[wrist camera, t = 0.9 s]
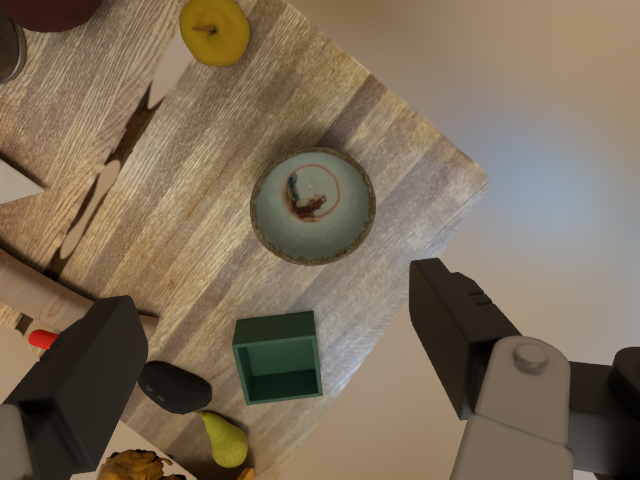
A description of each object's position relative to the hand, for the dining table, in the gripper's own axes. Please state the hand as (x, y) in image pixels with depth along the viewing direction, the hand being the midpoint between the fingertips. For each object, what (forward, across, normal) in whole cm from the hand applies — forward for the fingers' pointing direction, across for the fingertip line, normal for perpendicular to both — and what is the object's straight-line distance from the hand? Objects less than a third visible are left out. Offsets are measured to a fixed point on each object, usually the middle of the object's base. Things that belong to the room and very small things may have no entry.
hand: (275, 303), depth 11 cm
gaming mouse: (+36, +22, +36) cm, 56 cm away
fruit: (+32, +14, +52) cm, 63 cm away
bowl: (+36, -3, +8) cm, 38 cm away
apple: (+37, +5, -10) cm, 38 cm away
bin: (+36, +4, +32) cm, 49 cm away
